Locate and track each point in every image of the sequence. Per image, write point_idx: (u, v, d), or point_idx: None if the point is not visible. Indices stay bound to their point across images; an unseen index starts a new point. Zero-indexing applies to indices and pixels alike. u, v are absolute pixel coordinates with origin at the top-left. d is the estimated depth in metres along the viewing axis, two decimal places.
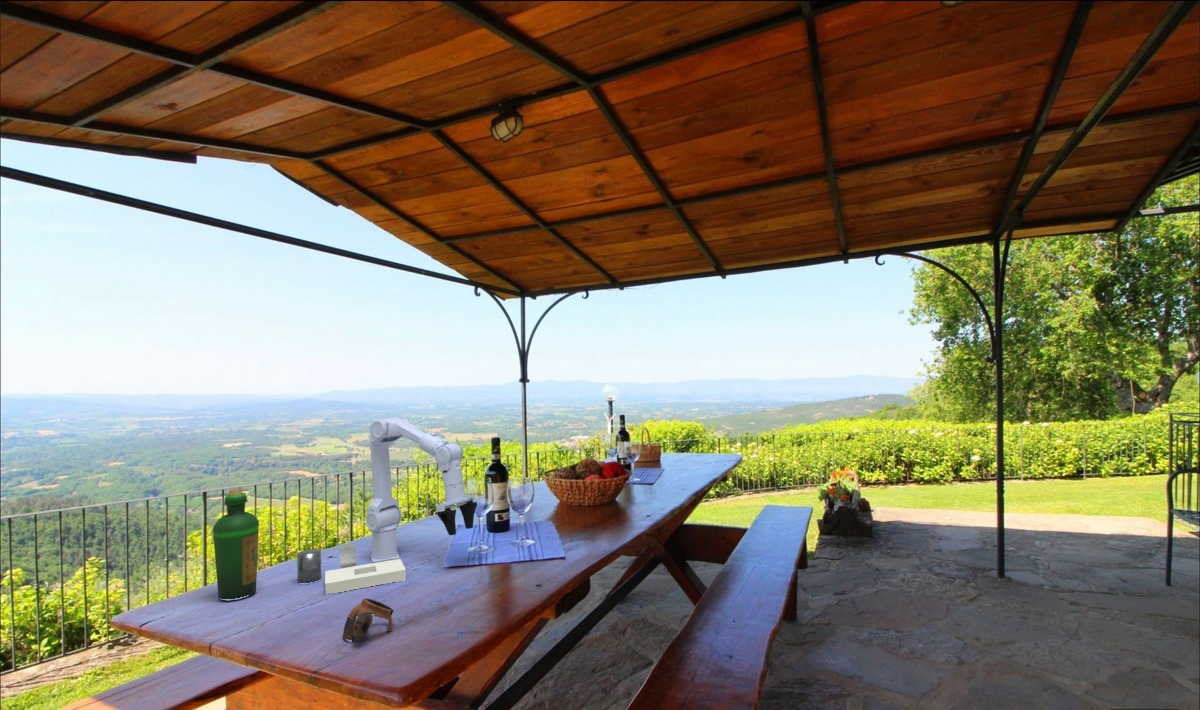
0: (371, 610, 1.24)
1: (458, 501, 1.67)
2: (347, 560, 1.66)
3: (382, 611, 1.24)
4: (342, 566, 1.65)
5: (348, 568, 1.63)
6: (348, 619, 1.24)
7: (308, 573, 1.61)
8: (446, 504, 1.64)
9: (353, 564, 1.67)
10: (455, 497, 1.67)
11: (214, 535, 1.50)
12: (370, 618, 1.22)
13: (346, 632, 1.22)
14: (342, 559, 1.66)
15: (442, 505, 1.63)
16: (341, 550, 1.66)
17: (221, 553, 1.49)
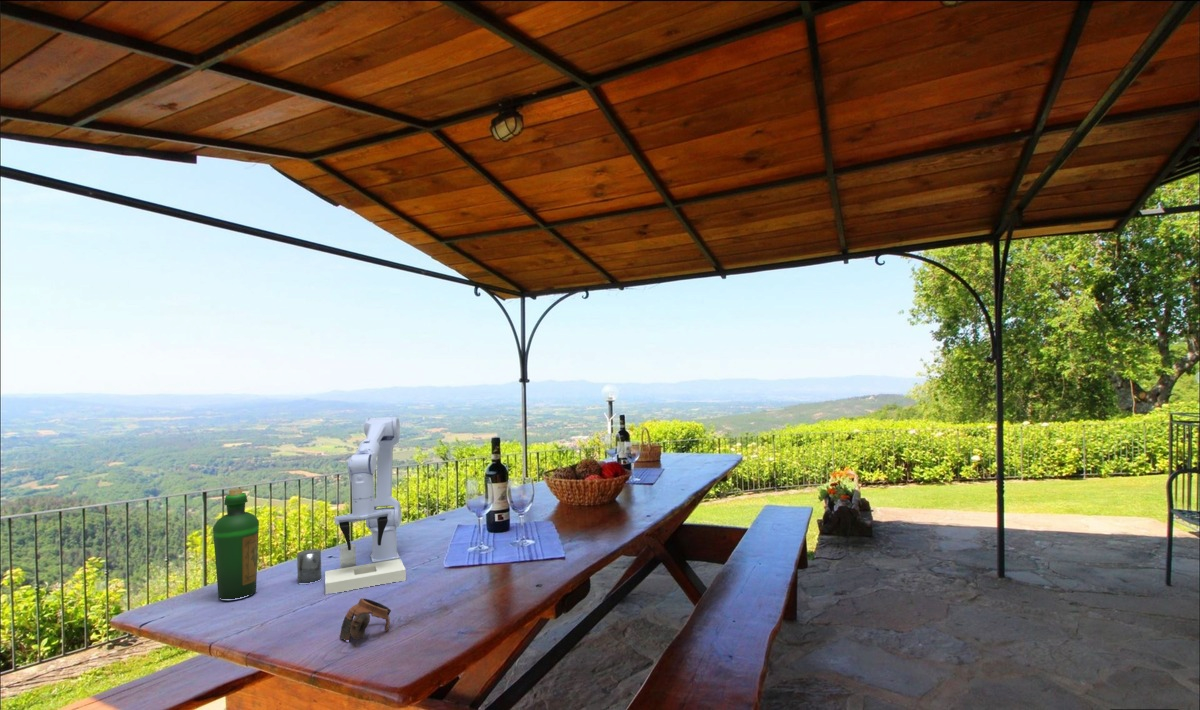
0: (368, 609, 1.24)
1: (356, 517, 1.58)
2: (347, 560, 1.66)
3: (379, 611, 1.24)
4: (342, 566, 1.65)
5: (348, 568, 1.63)
6: (345, 619, 1.24)
7: (308, 573, 1.61)
8: (341, 518, 1.58)
9: (353, 564, 1.67)
10: (355, 512, 1.59)
11: (214, 535, 1.50)
12: (367, 618, 1.22)
13: (343, 632, 1.22)
14: (342, 559, 1.66)
15: (336, 518, 1.57)
16: (341, 550, 1.66)
17: (221, 553, 1.49)
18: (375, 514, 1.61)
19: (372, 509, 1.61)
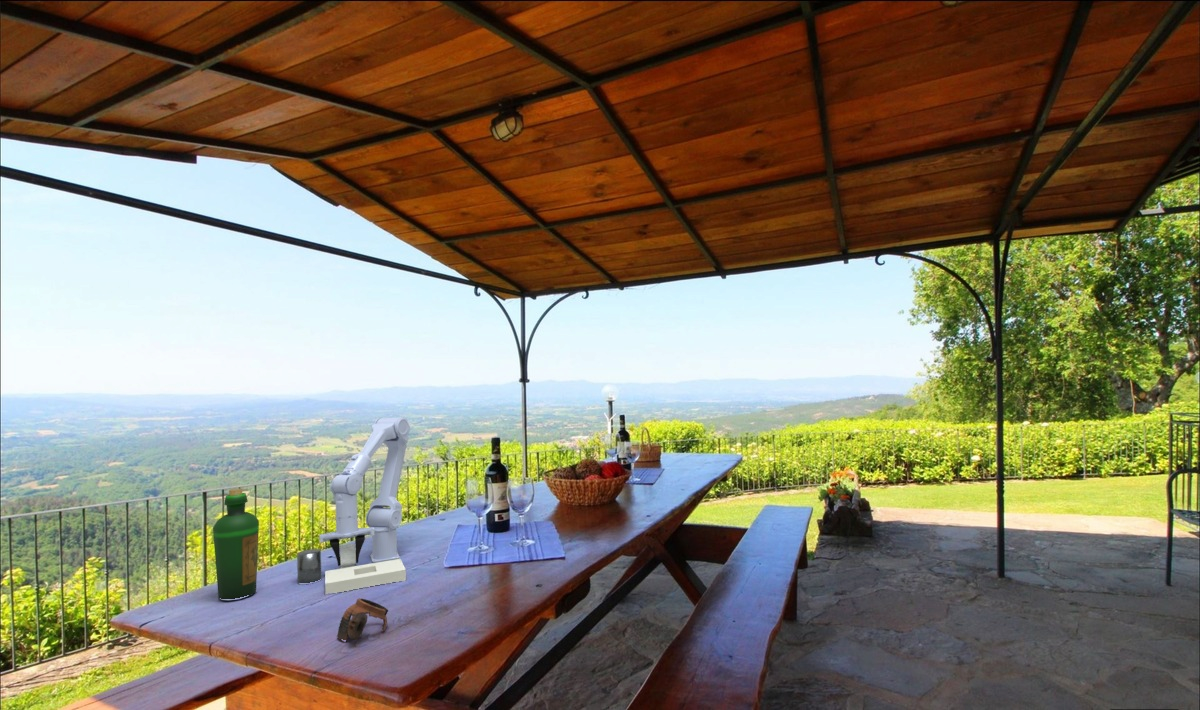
0: (366, 609, 1.24)
1: (339, 535, 1.65)
2: (347, 560, 1.66)
3: (376, 611, 1.25)
4: (342, 566, 1.65)
5: (348, 568, 1.63)
6: (343, 619, 1.24)
7: (308, 573, 1.61)
8: (325, 536, 1.65)
9: (353, 564, 1.67)
10: (338, 531, 1.66)
11: (214, 535, 1.50)
12: (365, 618, 1.22)
13: (341, 632, 1.23)
14: (341, 559, 1.66)
15: (320, 537, 1.64)
16: (341, 550, 1.66)
17: (221, 553, 1.49)
18: (358, 532, 1.68)
19: (355, 527, 1.68)
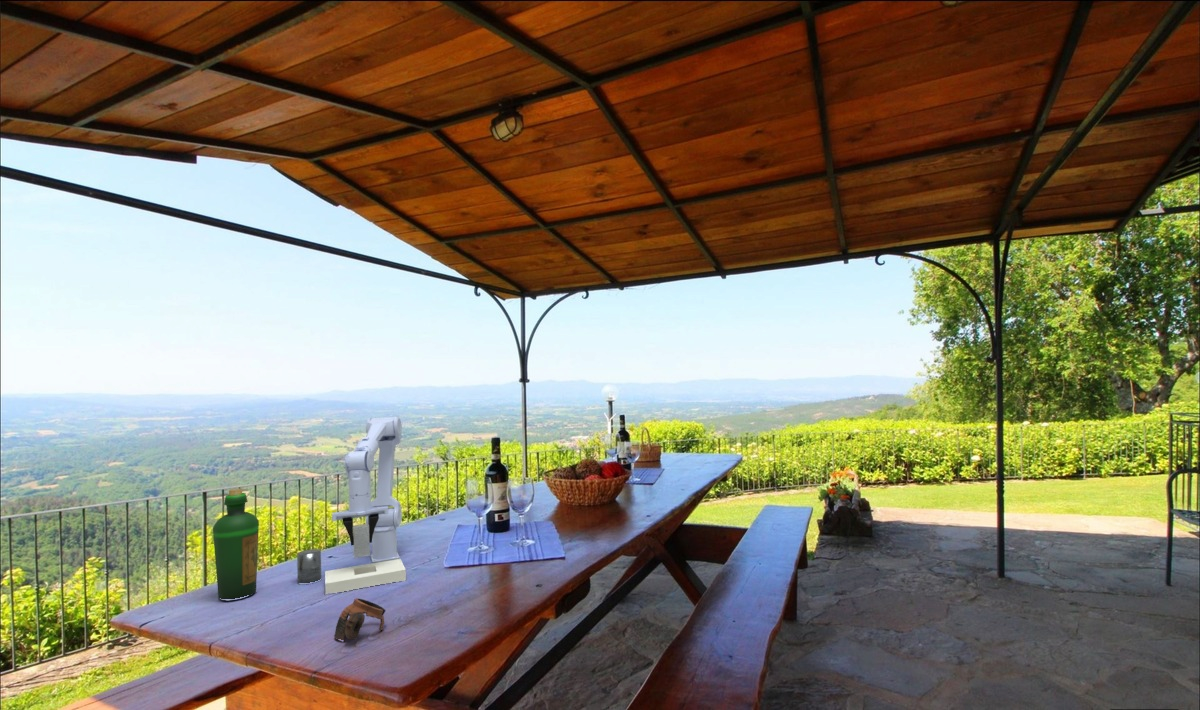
0: (363, 609, 1.24)
1: (353, 513, 1.59)
2: (360, 540, 1.60)
3: (374, 610, 1.25)
4: (355, 546, 1.60)
5: (348, 568, 1.63)
6: (340, 619, 1.24)
7: (308, 573, 1.61)
8: (338, 514, 1.59)
9: (367, 544, 1.61)
10: (352, 509, 1.60)
11: (214, 535, 1.50)
12: (362, 618, 1.22)
13: (338, 632, 1.23)
14: (355, 539, 1.60)
15: (333, 515, 1.59)
16: (354, 530, 1.60)
17: (221, 553, 1.49)
18: (372, 510, 1.62)
19: (369, 506, 1.62)
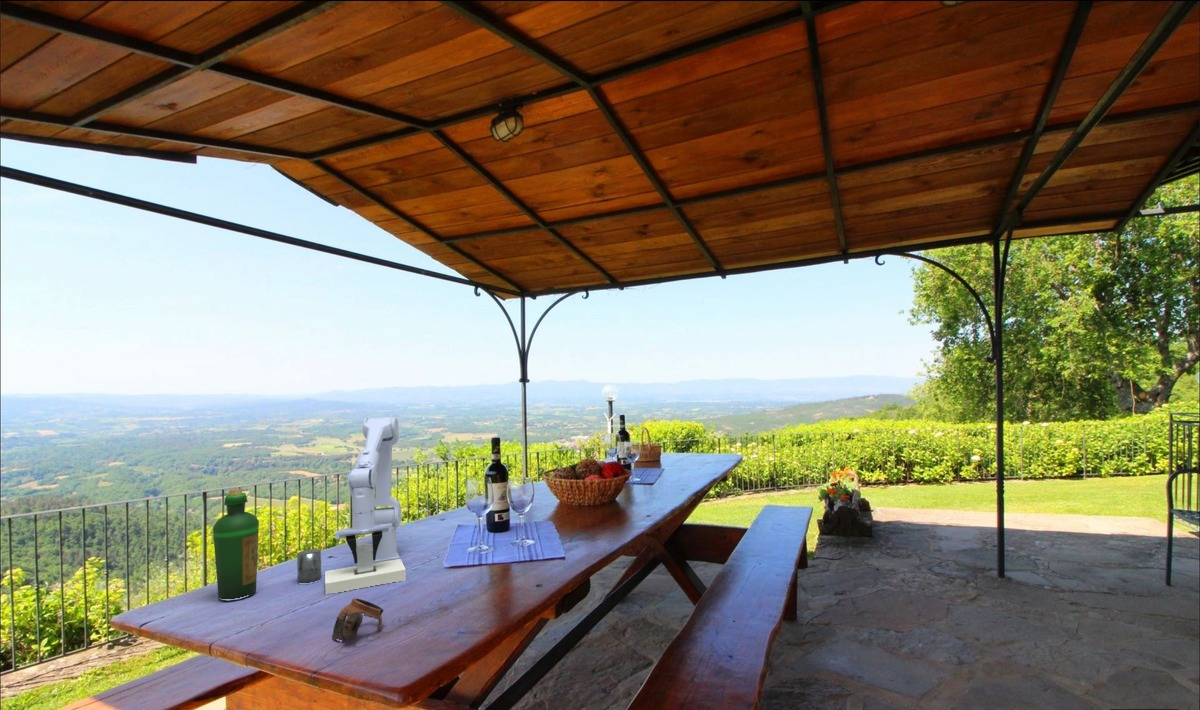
0: (361, 609, 1.24)
1: (356, 532, 1.58)
2: (364, 558, 1.59)
3: (372, 610, 1.25)
4: (359, 564, 1.58)
5: (348, 568, 1.63)
6: (338, 619, 1.24)
7: (308, 573, 1.61)
8: (341, 532, 1.58)
9: (370, 562, 1.60)
10: (355, 527, 1.59)
11: (214, 535, 1.50)
12: (360, 618, 1.22)
13: (336, 632, 1.23)
14: (358, 557, 1.58)
15: (336, 533, 1.57)
16: (358, 548, 1.59)
17: (221, 553, 1.49)
18: (375, 528, 1.60)
19: (372, 523, 1.61)
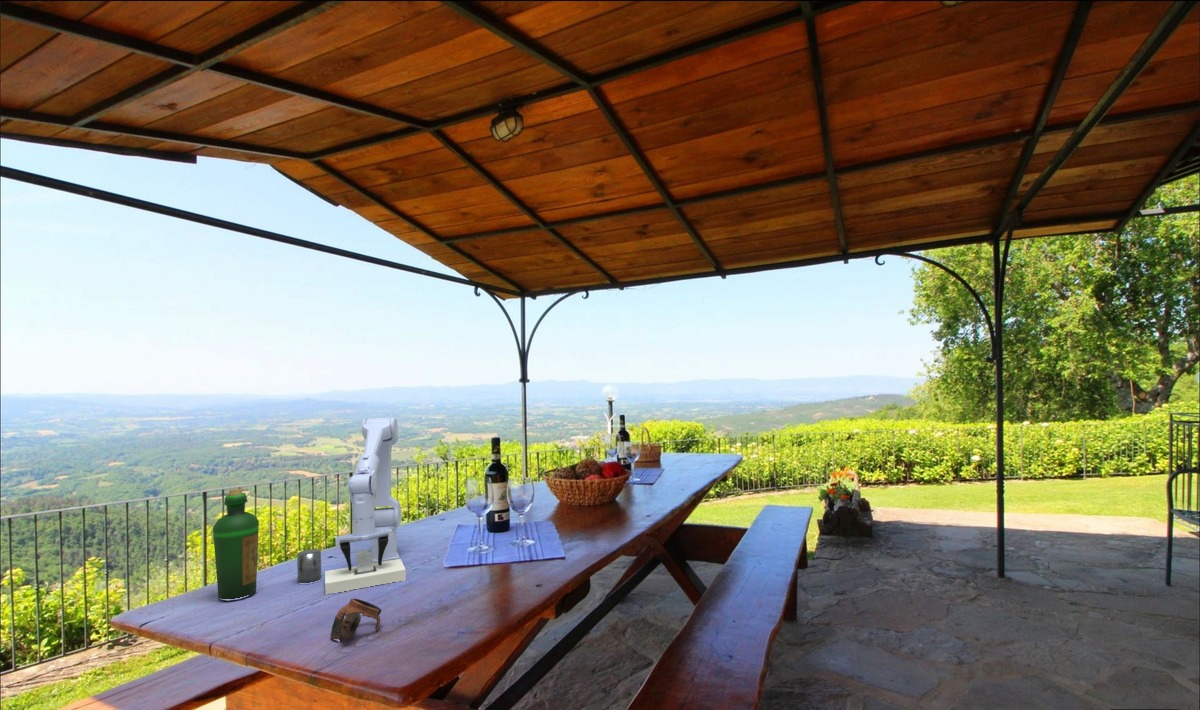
0: (359, 609, 1.24)
1: (356, 538, 1.58)
2: (364, 566, 1.59)
3: (370, 610, 1.25)
4: (359, 573, 1.58)
5: None
6: (336, 619, 1.24)
7: (308, 573, 1.61)
8: (342, 538, 1.58)
9: (371, 570, 1.60)
10: (355, 533, 1.59)
11: (214, 535, 1.50)
12: (358, 618, 1.22)
13: (334, 632, 1.23)
14: (359, 565, 1.58)
15: (336, 539, 1.57)
16: (358, 556, 1.58)
17: (221, 553, 1.49)
18: (376, 534, 1.60)
19: (373, 529, 1.61)
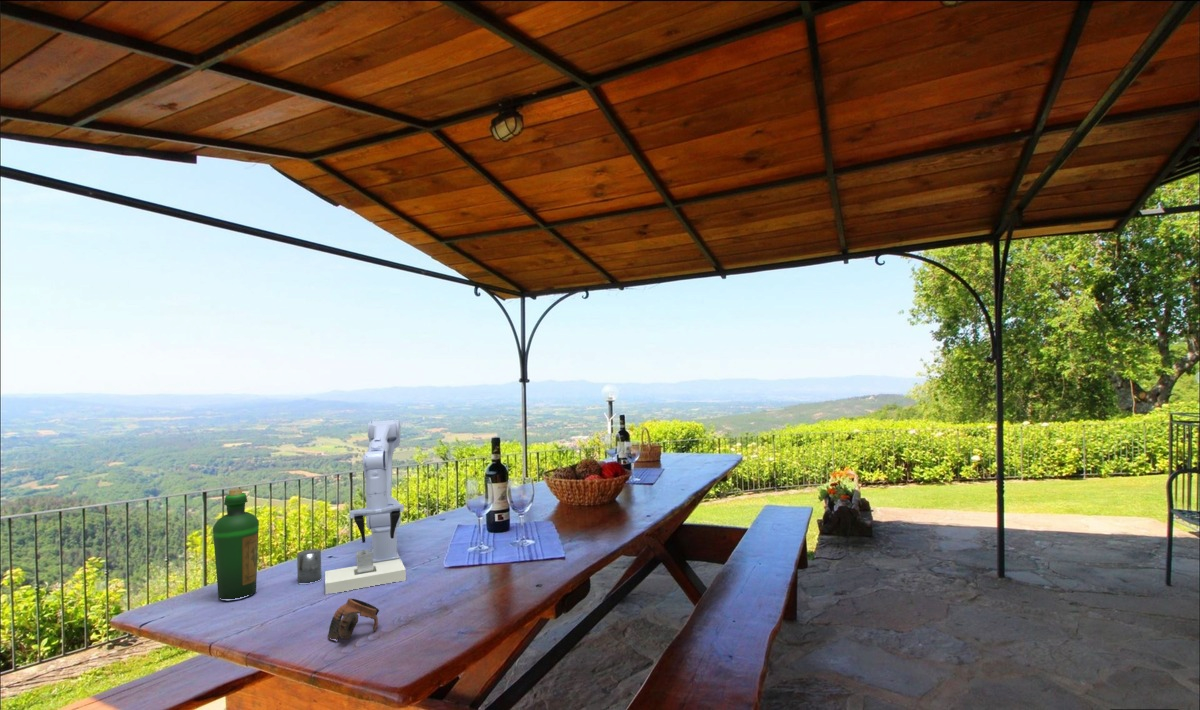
0: (357, 609, 1.24)
1: (370, 511, 1.65)
2: (364, 566, 1.59)
3: (367, 610, 1.25)
4: (359, 573, 1.58)
5: (348, 568, 1.63)
6: (333, 619, 1.24)
7: (308, 573, 1.61)
8: (356, 512, 1.65)
9: (371, 570, 1.60)
10: (369, 507, 1.66)
11: (214, 535, 1.50)
12: (356, 618, 1.23)
13: (331, 632, 1.23)
14: (359, 565, 1.58)
15: (351, 512, 1.65)
16: (358, 556, 1.58)
17: (221, 553, 1.49)
18: (388, 508, 1.68)
19: (385, 503, 1.68)
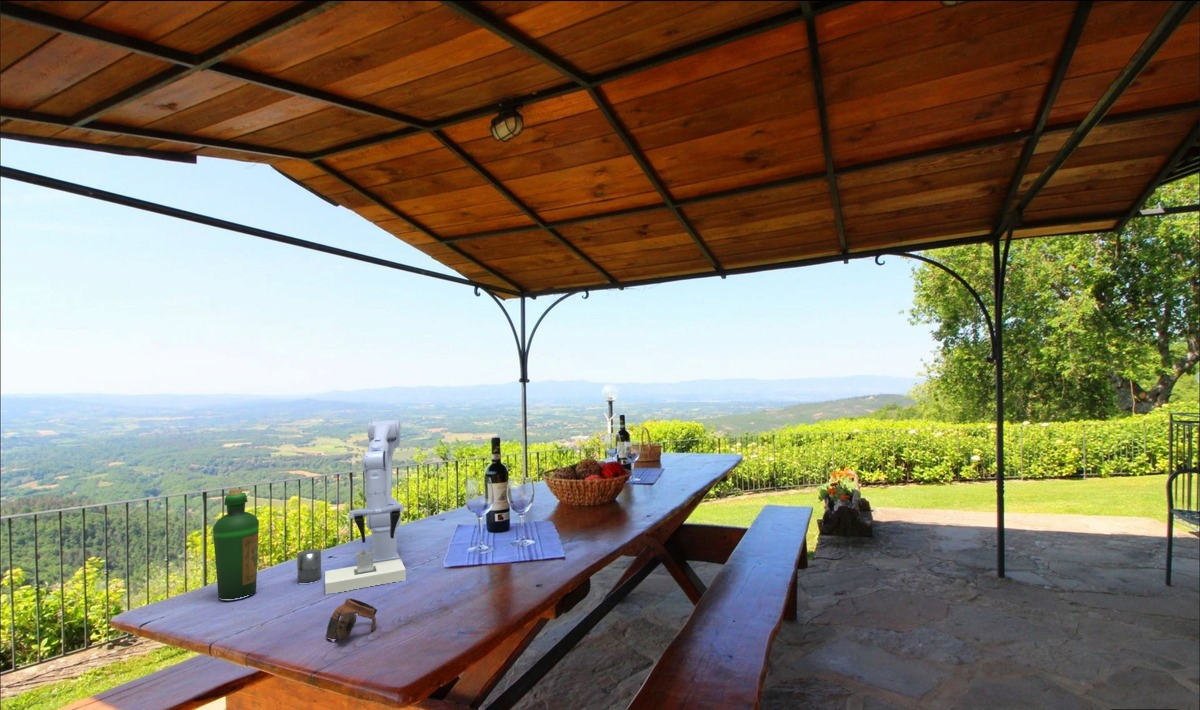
0: (355, 609, 1.24)
1: (370, 511, 1.65)
2: (364, 566, 1.59)
3: (365, 610, 1.25)
4: (359, 573, 1.58)
5: (348, 568, 1.63)
6: (331, 619, 1.24)
7: (308, 573, 1.61)
8: (356, 512, 1.65)
9: (371, 570, 1.60)
10: (369, 507, 1.66)
11: (214, 535, 1.50)
12: (354, 618, 1.23)
13: (330, 632, 1.23)
14: (359, 565, 1.58)
15: (351, 512, 1.65)
16: (358, 556, 1.58)
17: (221, 553, 1.49)
18: (388, 508, 1.68)
19: (385, 503, 1.68)
